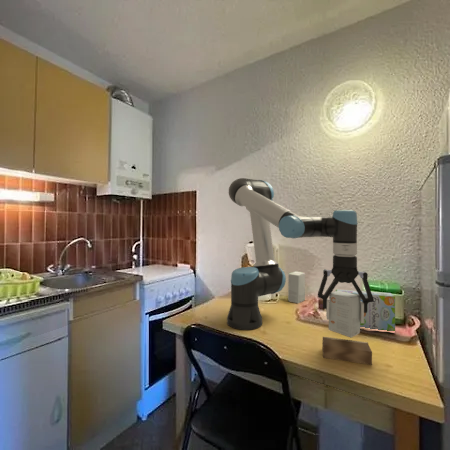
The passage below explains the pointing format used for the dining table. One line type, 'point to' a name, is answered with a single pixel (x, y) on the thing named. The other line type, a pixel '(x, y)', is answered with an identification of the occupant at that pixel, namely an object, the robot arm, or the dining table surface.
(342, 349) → the walnut step
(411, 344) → the dining table surface
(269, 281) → the robot arm
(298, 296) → the skincare box
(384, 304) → the snack box
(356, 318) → the small box
